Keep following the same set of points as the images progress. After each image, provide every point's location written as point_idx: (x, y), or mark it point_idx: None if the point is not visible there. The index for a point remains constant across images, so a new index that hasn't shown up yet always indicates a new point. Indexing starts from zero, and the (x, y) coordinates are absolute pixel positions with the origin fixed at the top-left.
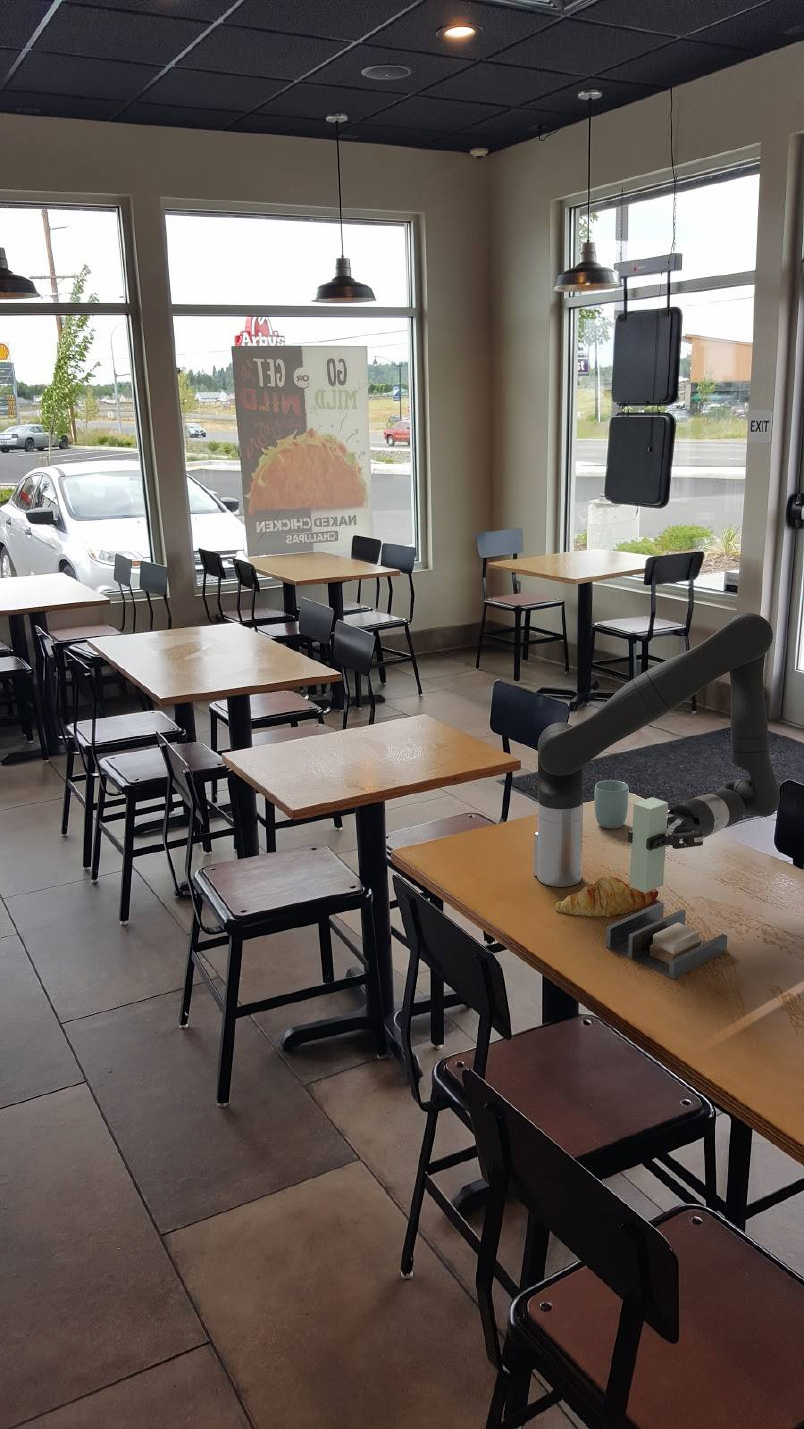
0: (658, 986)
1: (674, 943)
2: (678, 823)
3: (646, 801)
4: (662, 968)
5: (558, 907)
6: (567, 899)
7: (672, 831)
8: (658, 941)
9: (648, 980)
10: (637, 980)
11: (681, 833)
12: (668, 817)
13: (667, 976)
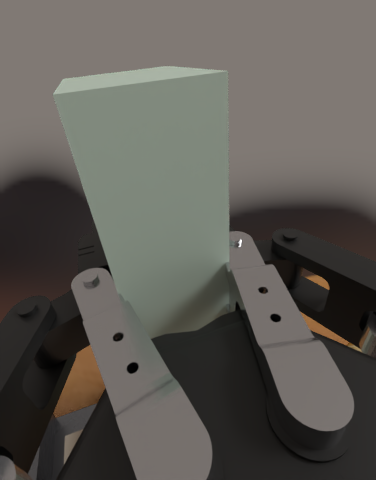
0: (64, 398)
1: (66, 438)
2: (125, 388)
3: (166, 71)
4: (84, 423)
5: (349, 343)
6: (361, 351)
7: (83, 314)
8: None
9: (88, 392)
10: (99, 376)
11: (19, 348)
12: (265, 360)
13: (59, 417)
